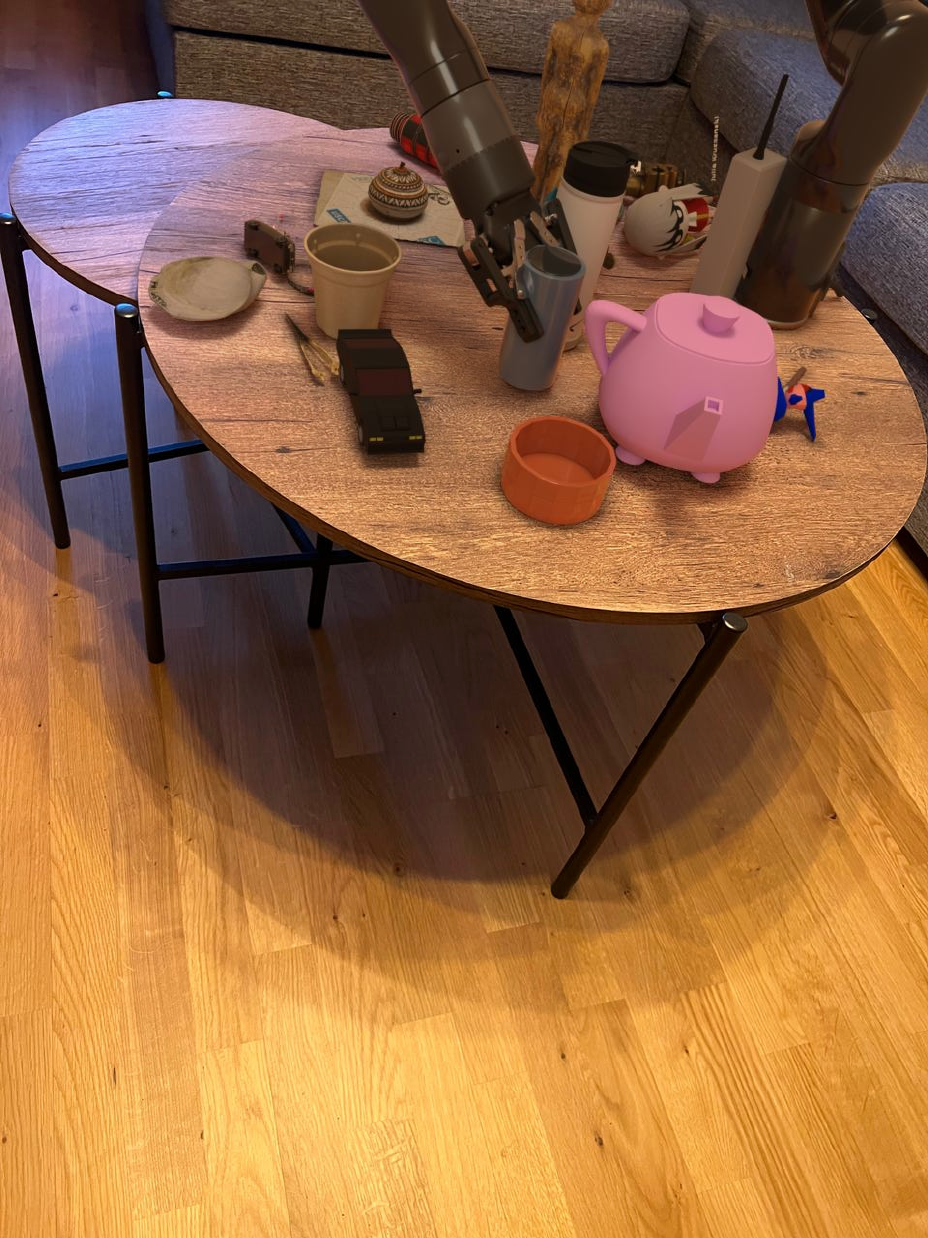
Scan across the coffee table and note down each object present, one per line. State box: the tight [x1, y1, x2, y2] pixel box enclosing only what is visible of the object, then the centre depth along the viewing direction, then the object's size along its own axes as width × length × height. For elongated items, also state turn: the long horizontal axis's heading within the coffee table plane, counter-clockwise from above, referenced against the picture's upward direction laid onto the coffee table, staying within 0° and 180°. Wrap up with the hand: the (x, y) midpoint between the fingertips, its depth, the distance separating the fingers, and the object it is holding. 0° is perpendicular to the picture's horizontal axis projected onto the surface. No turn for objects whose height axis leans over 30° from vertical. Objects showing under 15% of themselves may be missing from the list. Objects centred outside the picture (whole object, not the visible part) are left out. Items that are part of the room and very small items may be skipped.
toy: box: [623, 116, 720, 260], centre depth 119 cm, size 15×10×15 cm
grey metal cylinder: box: [496, 245, 586, 391], centre depth 93 cm, size 6×6×12 cm
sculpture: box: [530, 0, 613, 204], centre depth 107 cm, size 7×6×30 cm
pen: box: [782, 365, 808, 393], centre depth 105 cm, size 11×1×1 cm, turn 146°
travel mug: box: [556, 140, 640, 351], centre depth 98 cm, size 6×7×20 cm
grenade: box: [388, 110, 439, 170], centre depth 126 cm, size 6×5×15 cm
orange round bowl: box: [500, 415, 617, 526], centre depth 87 cm, size 9×9×4 cm
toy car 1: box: [243, 214, 296, 275], centre depth 106 cm, size 4×12×8 cm
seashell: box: [147, 255, 268, 322], centre depth 96 cm, size 12×8×5 cm
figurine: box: [772, 376, 826, 444], centre depth 100 cm, size 5×8×5 cm, turn 86°
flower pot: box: [303, 222, 403, 340], centre depth 97 cm, size 9×9×9 cm
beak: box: [284, 312, 340, 382], centre depth 96 cm, size 12×3×1 cm, turn 25°
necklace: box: [285, 264, 314, 296], centre depth 104 cm, size 4×6×1 cm, turn 16°
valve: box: [624, 161, 688, 198], centre depth 129 cm, size 7×15×5 cm, turn 89°
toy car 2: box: [335, 328, 427, 456], centre depth 90 cm, size 7×16×5 cm, turn 15°
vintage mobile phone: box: [688, 73, 790, 300], centre depth 107 cm, size 4×5×25 cm
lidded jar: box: [313, 160, 467, 248], centre depth 116 cm, size 15×18×7 cm
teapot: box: [583, 292, 779, 484], centre depth 89 cm, size 20×20×15 cm
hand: (554, 326), depth 93 cm, fingers closed on grey metal cylinder, 6 cm apart
